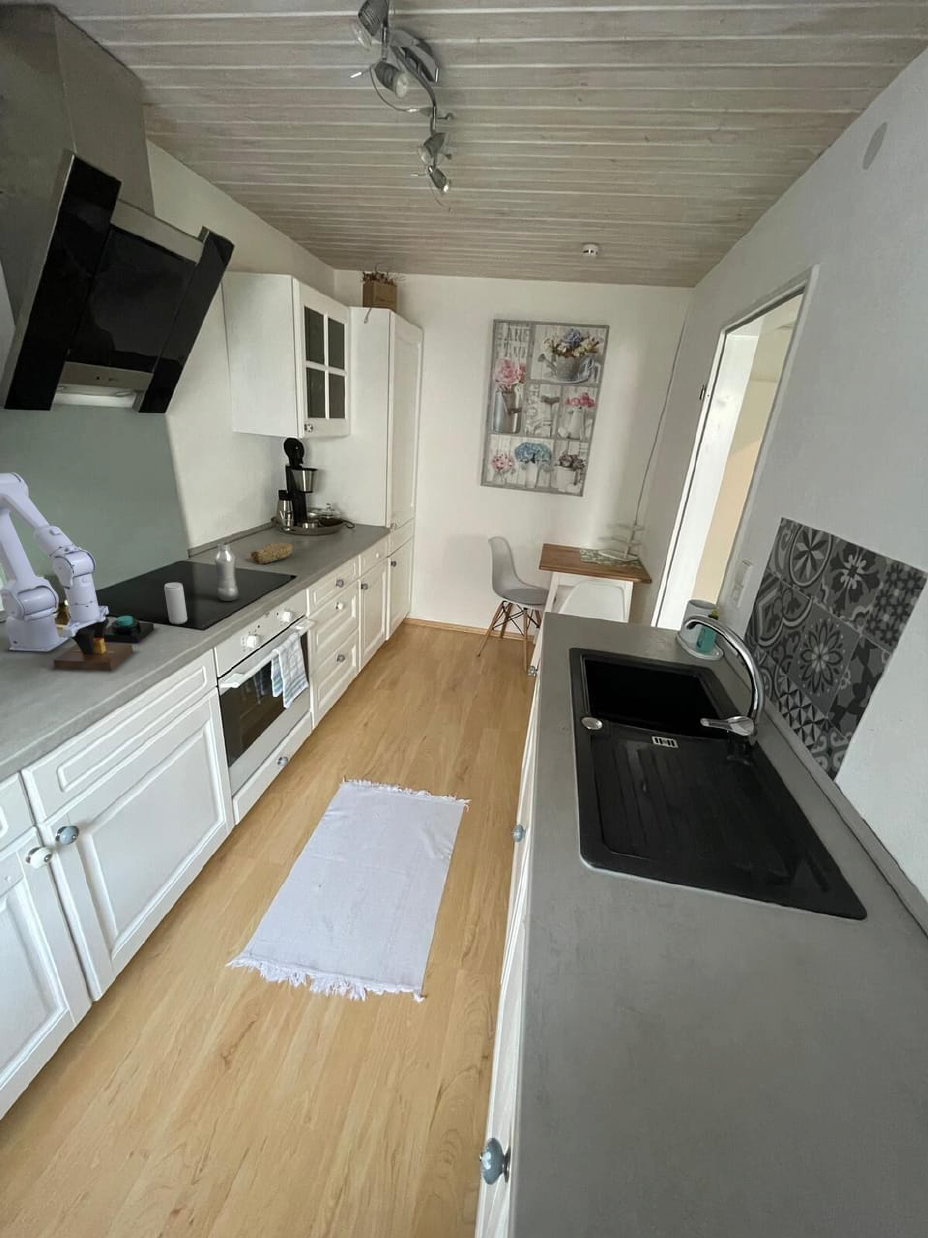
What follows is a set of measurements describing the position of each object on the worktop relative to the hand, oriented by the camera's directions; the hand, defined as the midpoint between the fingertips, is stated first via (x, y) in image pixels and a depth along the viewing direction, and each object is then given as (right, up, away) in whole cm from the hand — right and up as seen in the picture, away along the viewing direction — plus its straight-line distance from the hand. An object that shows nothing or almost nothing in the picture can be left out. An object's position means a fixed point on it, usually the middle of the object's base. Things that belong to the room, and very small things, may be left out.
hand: (93, 650), depth 124 cm
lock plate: (0, -3, +1) cm, 3 cm away
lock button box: (-2, +3, +15) cm, 15 cm away
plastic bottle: (+13, +14, +45) cm, 49 cm away
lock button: (-1, +7, +13) cm, 15 cm away
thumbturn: (0, 0, 0) cm, 0 cm away
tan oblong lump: (+11, +34, +91) cm, 98 cm away
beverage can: (+6, +7, +26) cm, 28 cm away
